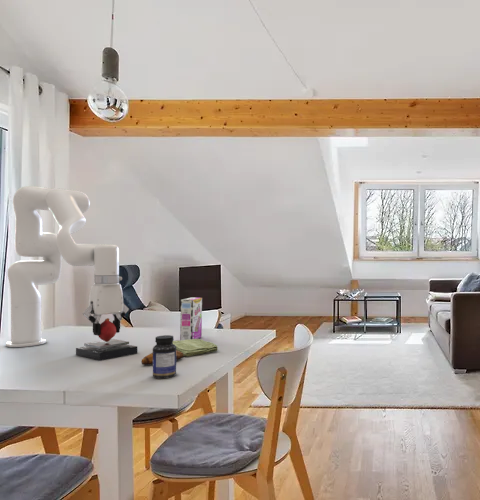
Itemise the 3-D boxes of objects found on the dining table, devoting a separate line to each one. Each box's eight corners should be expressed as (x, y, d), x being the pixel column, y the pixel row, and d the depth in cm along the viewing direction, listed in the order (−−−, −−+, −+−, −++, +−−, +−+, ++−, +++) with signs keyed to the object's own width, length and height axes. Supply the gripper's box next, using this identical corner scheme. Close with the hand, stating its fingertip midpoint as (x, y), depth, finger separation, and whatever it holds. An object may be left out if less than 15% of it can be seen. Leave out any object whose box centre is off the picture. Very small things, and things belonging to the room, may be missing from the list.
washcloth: (184, 358, 156) (184, 348, 156) (162, 350, 169) (162, 340, 169) (220, 352, 165) (220, 342, 165) (197, 345, 178) (197, 336, 178)
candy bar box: (192, 342, 183) (192, 299, 183) (179, 342, 183) (179, 299, 183) (202, 337, 194) (202, 297, 194) (190, 337, 194) (190, 297, 194)
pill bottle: (156, 373, 136) (156, 334, 136) (178, 373, 136) (178, 334, 136) (149, 379, 129) (149, 338, 130) (172, 378, 130) (172, 338, 130)
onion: (108, 343, 159) (108, 319, 159) (93, 343, 160) (93, 319, 160) (120, 340, 164) (120, 317, 164) (105, 340, 165) (105, 316, 166)
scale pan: (84, 345, 161) (84, 343, 161) (113, 341, 169) (112, 338, 169) (100, 348, 155) (100, 346, 155) (129, 343, 163) (129, 341, 163)
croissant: (147, 368, 142) (147, 351, 142) (136, 364, 147) (136, 348, 147) (188, 360, 152) (188, 344, 152) (177, 357, 157) (177, 342, 157)
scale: (75, 355, 161) (75, 346, 161) (113, 348, 172) (113, 340, 172) (99, 360, 152) (99, 351, 152) (137, 353, 163) (137, 345, 163)
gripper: (124, 279, 171) (124, 329, 171) (74, 281, 157) (74, 336, 157) (136, 279, 167) (136, 331, 167) (86, 282, 153) (86, 338, 153)
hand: (106, 333), depth 162 cm, fingers closed on onion, 5 cm apart
